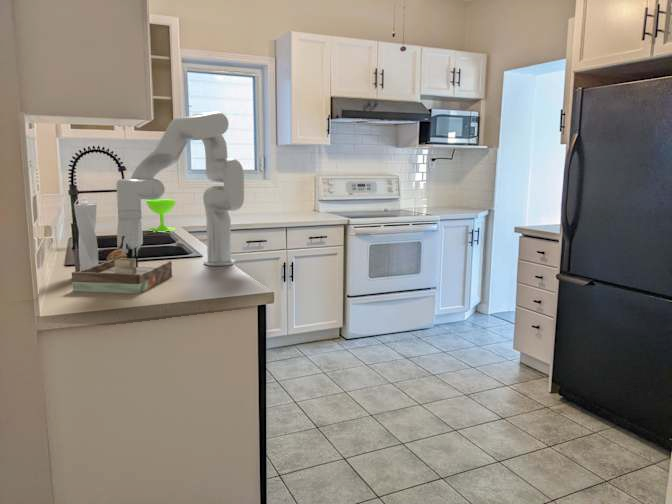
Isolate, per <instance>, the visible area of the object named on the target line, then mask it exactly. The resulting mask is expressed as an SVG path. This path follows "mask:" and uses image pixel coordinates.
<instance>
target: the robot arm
mask: <svg viewBox="0 0 672 504" xmlns="http://www.w3.org/2000/svg"><path fill="white" fill-rule="evenodd" d="M228 130H229V120H228V117H227V116H226V115H225V114H224V113H222V112H219V111H211V112H210V111H209V112H198V113H195V114H193V115H191V116H179V117H175V118H173V119H172V120H171V121H170V122H169V124H168V126H167V128H166V129H165V131H164V133H163V135H162V137H161V138H160V140H159V142H158V144H157V146H156V147H155V149H154V150H153V151H151V152H150V153H149V154H148V156H146V157H145V158H144V159H143V160H142V161H141V162H140V163H139V164H138V165H137V167H136V168H135V169H134V172H133V173H132V175H131V177H130V178H121V179H118V180H117V181H116V198H117V199H116V200H117V201H116V203H117V219H118V221H117V227H116V228H117V230H116V231H117V232H116V234H117V235H116V237H117V238H116V239H117V240H116V244H117V248H118V250H120V249H122V252H123V253H125V254H126V257H127V258H136V267H139V260H138V255H139V250H140V249H141V246H142V245H143V243H144V240H143V239H144V237H143V236H144V235H143V234H144V233H143V226H142V219H143V218H142V200H146V201H147V200H157V199H160V198H162V197H163V196H164V194H165V191H166V190H165V189H166V188H165V185H164V183H163V182H162V181H160V180H159V179H157V178H154V177H156V175H158V173H160V172H161V171H163V170H165V169H167V168H169V167H171V166H173V165H174V164H176V163H177V162H178V161H179V159H180V157H181V155H182V153H183V151H184V150H185V147H186V146H187V145H188V142H190V141H202V143H203V145H204V152H205V173H206V177H207V179H208V180H209V181H211V182H213V183H223V185H211V186H209V187H207V188H206V189H205V191H204V192H203V197H202V199H203V205H204V210H205V218H206V220H205V221H206V251H207V252H206V253H207V258H206V259H204V260H203V265H205V266H209V267H210V266H211V267H212V266H213V267H222V266H223V267H225V266H230V265H234V264H235V263H236V260H235V259H234V258H232V236H231V235H232V233H231V227H232V226H231V225H232V224H231V217H230V213H229V211H231V212H235V211H238V210H240V209H241V208H242V206H243V204H244V201H245V177H244V176H245V175H244V174H245V173H244V169H243V166H242V164H241V162H240V161H239V160H238V159H235V158H230V157H228V147H227V142H226V139H225V137H224V136H223V135H224V134H225V133H226V132H227V131H228Z"/></svg>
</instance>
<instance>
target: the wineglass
mask: <svg viewBox="0 0 672 504" xmlns="http://www.w3.org/2000/svg"><path fill="white" fill-rule="evenodd" d="M175 204H176V200H175V199H169V198H168V199H166V198H165V199H160V198H159V199H156V200H147V199H146V205H147V206H148V208H149V209H150V210H151V211H152V212H153V213H155V214H158V215H159V221H160V222H159V226H158V227H151V228H149V229H148V230H152V231H170V230H175V229H176V228H174V227H167V226H165V224H164V223H165V222H164V220H165V219H164V215H165V214H167V213H169V212H171V211H172V210H173V209H174V207H175Z"/></svg>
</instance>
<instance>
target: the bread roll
mask: <svg viewBox="0 0 672 504" xmlns="http://www.w3.org/2000/svg"><path fill="white" fill-rule="evenodd" d="M122 250H123V248H122V249H115V250H113V251H111V252H110V253H109V254H108V255H107V256H106V258H105V262H107V261H110V260H113V259H115V260H118V259H120V258H127V257H126V254H125V253H123V252H122Z"/></svg>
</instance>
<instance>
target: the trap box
mask: <svg viewBox="0 0 672 504" xmlns="http://www.w3.org/2000/svg"><path fill="white" fill-rule="evenodd" d="M114 261H115V259H113V260H110V261H107V262H106V261H104V262H102V263H98V265H96V266H93V267H90V268H88V269H85V270H82V271H81V270H80V271H79V272H75V271H73V272H71V284H72V292H87V293H88V292H89V293H90V292H91V293H118V294H119V293H120V294H141V293H144V292H145V291H147V290H149V289H151V288H153V287H154V286H157V285H158V284H160V283H162V282H163V281H166V280H167V279H169V278H171V277H173V270H172V268H173V267H172V265H173V264H172V260H171V261H170V260H168V261H167V262H163V263H162V264H160V265H158V266H155V267H154V266H153V267H152V266H151V267H150V266H149V267H148V266H138V267H136V273H135V274H119V273H115V262H114Z"/></svg>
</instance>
